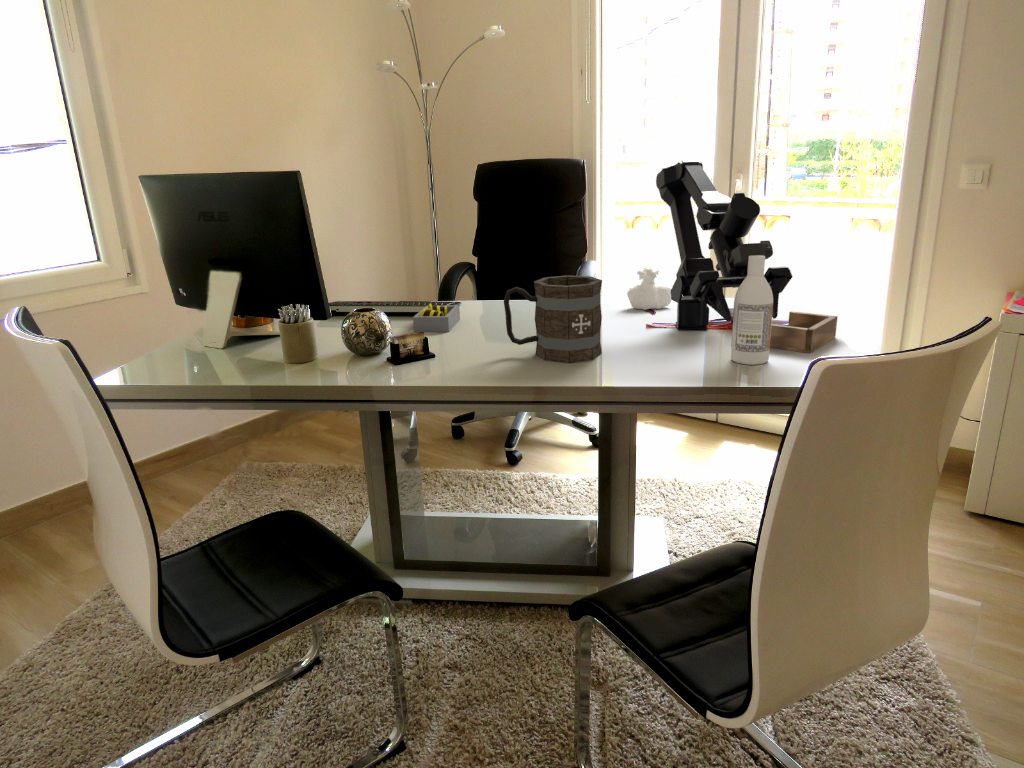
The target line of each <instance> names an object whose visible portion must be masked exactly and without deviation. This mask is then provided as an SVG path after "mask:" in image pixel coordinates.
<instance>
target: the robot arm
mask: <svg viewBox="0 0 1024 768" xmlns="http://www.w3.org/2000/svg"><path fill="white" fill-rule="evenodd" d="M655 185H656V188H657V189H658V192H659V195H660V198H661V199H662V200H663V202H664V203H666V205H667V206H668V207H669V209H670V213H671V217H672V224H673V228H674V232H675V238H676V243H677V248H678V252H679V259H680V265H679V267H678V269H677V272H676V279H675V281H674V283H673V285H672V287H671V301H674V302H675V303H677V305H676V306H677V307H676V308H677V309H676V311H677V313H676V321H675V325H676V328H677V330H680V331H681V330H684V331H685V330H686V331H687V330H691V331H692V330H695V331H697V330H698V331H699V330H702V331H703V330H705V331H706V330H708V326H709V324H710V323H709V321H710V308H712V309H713V310H714V311H715V312H716V313H718V314H719V316H721V317H722V318H723V319H724V320H725V321H726V322H727V323H729V322H731V321H732V316H731V310H730V308H729V306H728V303H727V302H728V301H727V300H726V297H725V295H724V288H733V289H738V288H739V286H740V285H741V283H742V282H743V280H744V279H745V278H746V276H747V275H748V260H749V259H748V258H749V256H754V255H763V256H765V261H766V260H767V259H769V258H772V257H773V254H774V249H773V245H772V243H771V241H770V240H768V239H767V240H760V241H759V242H751V243H744V242H743V239H742V238H744V237H746V236H747V235H748V234H749V233H750V231H751V229H752V227H753V225H754V224H755V222H756V220H757V218H758V217H759V215H760V213H761V207H760V204H759V203H757V202H756V201H755V200H754V199H752V198H751V197H747V196H746V193H745V192H733V195H732V196H731V197H729V196H728V195H725V194H722V193H720V192H719V191H718V190H717V188H716V186H715V185H714V184H713V182H712V181H711V179H710V177H709V176H708V175H707V173H706V172H705V170H704V166H703V163H702V161H699V160H696V159H695V160H681V161H679V162H677V163H676V164H674V165H671V166H668V167H663V168H662V169H661V171H660V172H658V173H657V174H656V178H655ZM691 198H692V200H693V201H694V204H695V205H696V207H697V212H696V215H695V214H694V209H693V206H692V201H691ZM695 216H696V218H695ZM695 219H696V220H697V223H696V220H695ZM697 224H698V225H699V227H700V229H701V230H703V231H712V233H711V235H710V238H709V239H710V240H709V243H708V246H707V248H708V250H713V252H714V255H715V258H716V261H717V263H716V266H715V267H714V261H713V259H712V258H711V257H706V256H704V255H703V252H702V246H701V243H700V237H699V233H698V229H697ZM715 269H716V270H715ZM719 271H720V273H719ZM791 271H792V270H791V269H790V268H789V267H787V266H770V267H768V268H767V270H766V272H764V277H765V279H766V280H767V282H768V284H769V286H770V288H771V290H772V294H773V312H772V320H773V319H777V317H778V314H779V313H778V312H779V299H780V294H781V293H782V292H783V291H784V290H785V288H786V287H787V286H788V284H789V283H790V281H791V280H792V278H793V273H792V272H791ZM720 274H721V276H720Z"/></svg>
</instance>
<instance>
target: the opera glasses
mask: <svg viewBox="0 0 1024 768" xmlns="http://www.w3.org/2000/svg"><path fill="white" fill-rule="evenodd" d="M428 306H429V307H428V308H424V307H423V308H424V309H423V308H422V309H423V310H422V309H421V310H422V312H421V314H420V316H446V315H447V306H448V305H444V306H445V307H440V306H441V305H432V303H428Z"/></svg>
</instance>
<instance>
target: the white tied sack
mask: <svg viewBox="0 0 1024 768" xmlns="http://www.w3.org/2000/svg"><path fill="white" fill-rule="evenodd" d="M659 272H660V269H657V270H655V269H653V268H652V267H644V268H642V269H641V270H638V271H637V272H636V273H637V276H639V278H638V280H639V281H641V280H642V282H641V283H640V284H638V285H634V286H633V287H631V288H629V289H628V291H627V292H626V295H627V298H628V301H629V303H630V305H631V307H632V308H633V309H636V310H637V309H638V310H639V309H640V310H649V309H651V310H653V309H657V310H660V309H662V308H666V307H667V306H669V305H670V304H671V302H672V300H671V289H672V287H669V286H667V285H664V284H660V283H656V282H655V279H656V278H657V276H658V275H659Z"/></svg>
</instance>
